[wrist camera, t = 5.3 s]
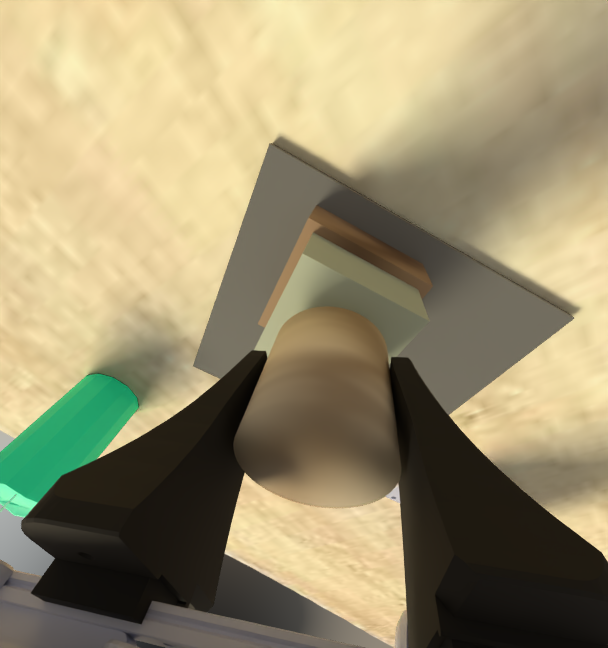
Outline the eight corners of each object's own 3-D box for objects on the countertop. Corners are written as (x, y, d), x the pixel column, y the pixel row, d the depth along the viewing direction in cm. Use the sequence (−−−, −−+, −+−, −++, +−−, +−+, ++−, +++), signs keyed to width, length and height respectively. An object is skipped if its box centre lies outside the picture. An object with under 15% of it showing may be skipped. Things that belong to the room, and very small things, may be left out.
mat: (569, 313, 18) (574, 318, 17) (392, 453, 28) (392, 458, 27) (272, 143, 15) (269, 143, 15) (195, 362, 25) (193, 366, 25)
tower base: (422, 263, 17) (433, 286, 14) (358, 344, 21) (358, 373, 18) (316, 204, 16) (308, 217, 14) (270, 300, 20) (257, 324, 18)
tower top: (418, 289, 15) (429, 321, 12) (355, 365, 18) (354, 402, 16) (313, 232, 14) (302, 253, 12) (268, 321, 17) (252, 353, 15)
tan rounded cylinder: (412, 341, 11) (441, 459, 7) (349, 408, 14) (344, 523, 10) (304, 285, 11) (268, 378, 7) (259, 366, 14) (214, 469, 9)
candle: (103, 365, 28) (-41, 495, 18) (150, 406, 30) (46, 540, 20) (72, 384, 30) (-70, 507, 20) (117, 420, 32) (10, 546, 23)
